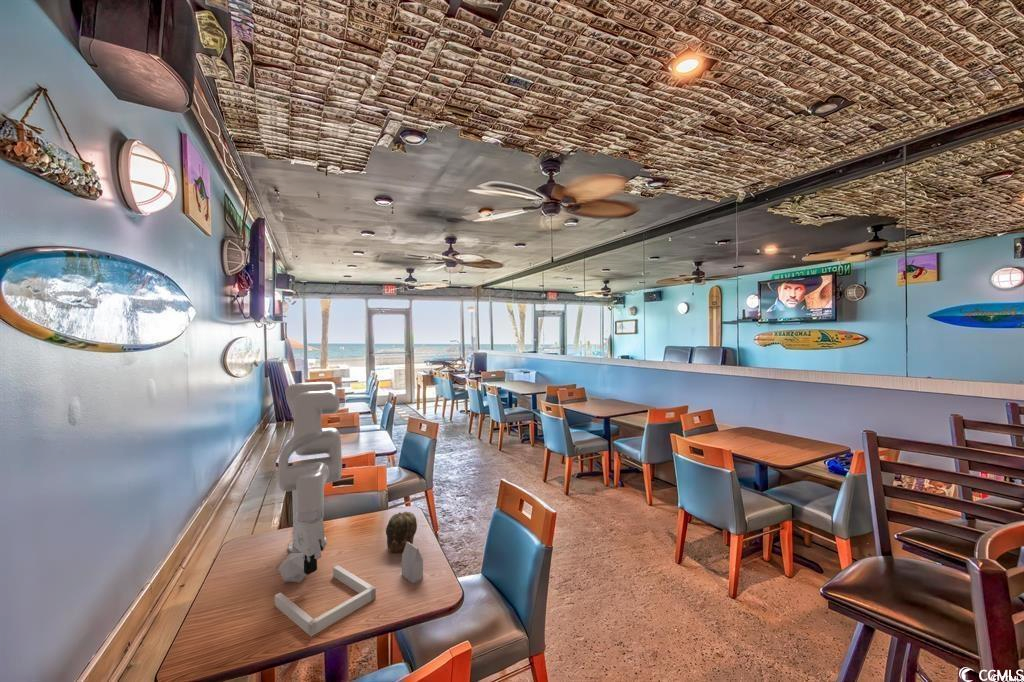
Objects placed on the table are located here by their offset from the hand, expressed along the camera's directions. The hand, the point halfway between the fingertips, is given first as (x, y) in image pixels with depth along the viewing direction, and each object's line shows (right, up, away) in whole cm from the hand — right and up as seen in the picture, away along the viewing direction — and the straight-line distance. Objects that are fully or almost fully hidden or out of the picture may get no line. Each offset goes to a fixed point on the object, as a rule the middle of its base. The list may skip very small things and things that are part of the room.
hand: (310, 571), depth 122 cm
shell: (+21, -5, +25) cm, 33 cm away
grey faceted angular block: (+30, -5, +6) cm, 31 cm away
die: (-7, -6, +5) cm, 10 cm away
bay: (+8, -5, -6) cm, 11 cm away
